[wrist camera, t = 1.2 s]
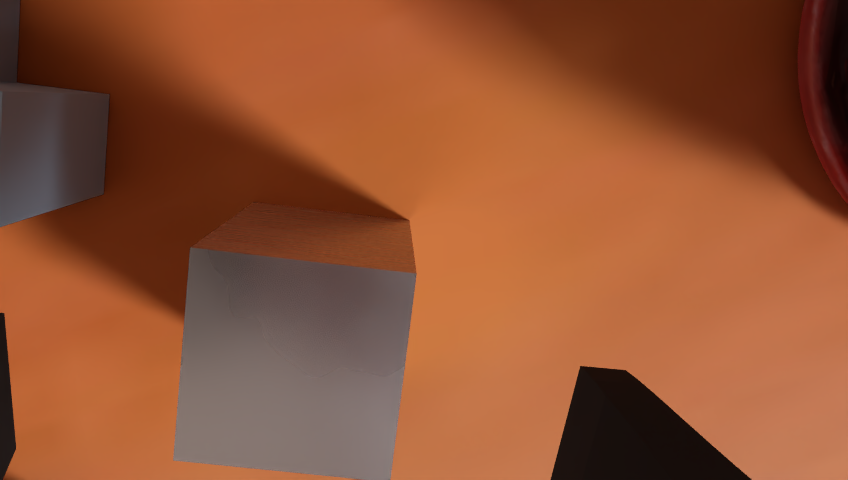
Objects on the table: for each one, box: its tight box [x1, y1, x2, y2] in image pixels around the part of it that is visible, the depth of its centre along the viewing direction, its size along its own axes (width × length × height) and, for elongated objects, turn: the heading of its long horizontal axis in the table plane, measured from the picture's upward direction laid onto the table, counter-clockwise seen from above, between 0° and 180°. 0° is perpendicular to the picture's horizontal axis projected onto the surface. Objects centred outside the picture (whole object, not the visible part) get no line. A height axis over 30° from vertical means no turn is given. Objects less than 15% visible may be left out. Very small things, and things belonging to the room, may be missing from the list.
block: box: [173, 202, 417, 480], centre depth 18 cm, size 4×4×6 cm
